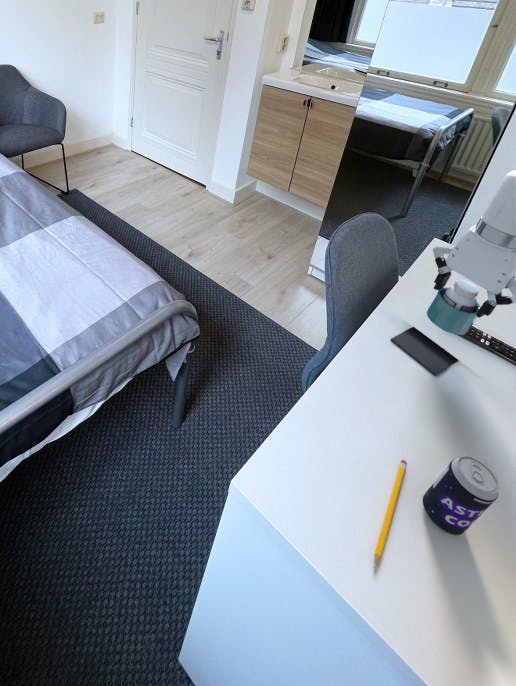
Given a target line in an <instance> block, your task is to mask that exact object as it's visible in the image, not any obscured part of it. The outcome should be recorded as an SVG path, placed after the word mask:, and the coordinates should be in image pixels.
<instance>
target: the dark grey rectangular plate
mask: <svg viewBox="0 0 516 686" xmlns="http://www.w3.org/2000/svg"><path fill="white" fill-rule="evenodd" d="M390 341H391V342H393V343H394V344H395V345H396V346H397V347H399V348H400V349H401V350H402V351H404V352H405V353H406V354H408V355H409V356H410V357H411V358H413V359H414V360H415V361H416V362H417V363H419V364H420V365H422V366H423V367H424V368H425V369H426V370H427V371H429V372H430V373H432V375H434V376H437V375H439V374H440V373H442V372H443V371H445V370H446V369H448V368H450V367H451V366H452V365H454V364H456V363H457V362H459V359H458V358H456V356H454V355H453V354H451V353H450V352H449V351H447V350H446V349H445V348H444V347H442V346H440V344H438V343H436V342H435V341H434V340H432V339H431V338H430V337H429V336H428V335H426V334H424V333H423V332H422V331H420V330H419V329H418V328H417V327H415V326H411V327H410V328H408V329H406V330H404V331H402V332H401V333H399V334H397V335H395V336H393V337H391V338H390Z"/></svg>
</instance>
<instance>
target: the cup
mask: <svg viewBox="0 0 516 686" xmlns="http://www.w3.org/2000/svg"><path fill="white" fill-rule="evenodd" d="M448 288H449V287H443V288H441V289H439V290H436V293H435V294H434V297H433V298H432V300H431V302H430V304H429V305H428V307H427V310H426V316H427V318H428V320H429V321H430V322H431V323H432V324H433V325H434V326H436V327H438V328H439V329H441V330H442V331H444V332H447V333H449V334H452V335H458V336H463V335H466V334H467V333H468V332H469V331H470V330H471V329H472V327H473V325H474V324H475V322H476V320H477V319H478V317H477V315H476V314H477V312H478V311H479V309H480V308H481V305H480V304H479V302H478V301H477V304H476V306H475V308H474V309H473V311H472V313H468V312H464V311H461V310H459V309H456V308H454V307H452V306H451V305H449V304H448V303H447V302H446V301H445V300H444V299H443V298H442V297H443V295H444V293H445V292H446V290H447V289H448Z"/></svg>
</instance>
